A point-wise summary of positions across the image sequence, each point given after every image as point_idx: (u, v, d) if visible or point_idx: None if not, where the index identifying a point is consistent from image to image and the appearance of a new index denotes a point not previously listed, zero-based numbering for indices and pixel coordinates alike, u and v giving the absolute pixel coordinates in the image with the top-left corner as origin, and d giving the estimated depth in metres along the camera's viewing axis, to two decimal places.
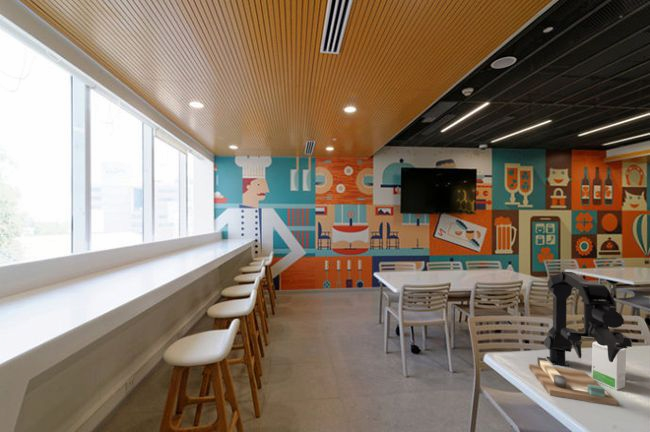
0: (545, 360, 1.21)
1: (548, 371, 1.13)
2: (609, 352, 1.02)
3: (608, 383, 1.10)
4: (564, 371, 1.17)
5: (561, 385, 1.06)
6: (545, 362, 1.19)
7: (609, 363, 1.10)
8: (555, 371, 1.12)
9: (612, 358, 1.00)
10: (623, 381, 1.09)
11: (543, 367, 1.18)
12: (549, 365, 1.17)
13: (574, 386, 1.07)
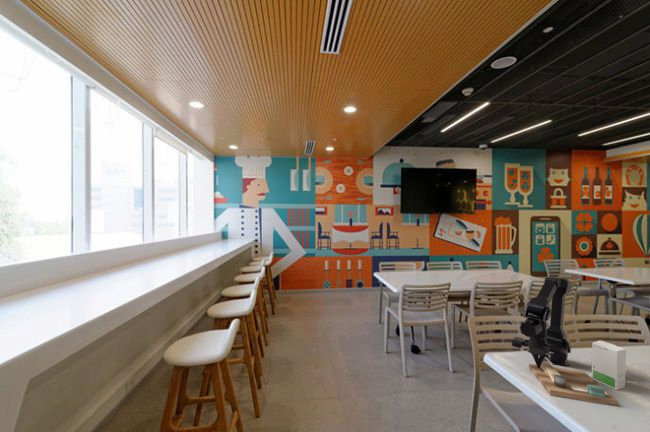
0: (545, 360, 1.21)
1: (549, 371, 1.13)
2: None
3: (608, 383, 1.10)
4: (564, 371, 1.17)
5: (561, 385, 1.06)
6: (546, 362, 1.19)
7: (609, 363, 1.10)
8: (555, 371, 1.12)
9: (539, 364, 1.18)
10: (623, 381, 1.09)
11: (543, 367, 1.18)
12: (549, 365, 1.17)
13: (574, 386, 1.07)
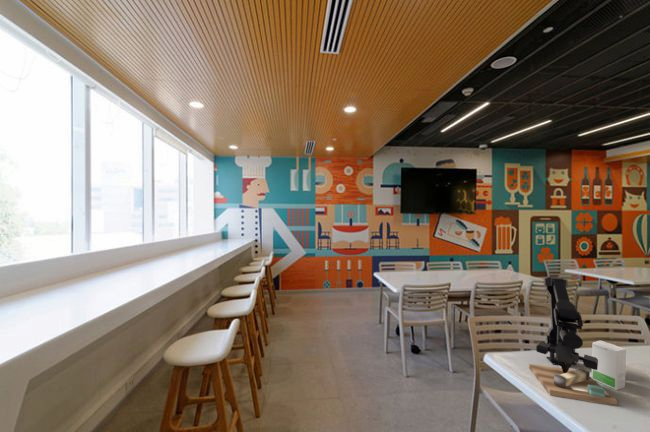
0: (584, 371, 1.12)
1: None
2: None
3: (608, 383, 1.10)
4: None
5: (556, 383, 1.07)
6: (579, 372, 1.11)
7: (609, 363, 1.10)
8: (569, 376, 1.09)
9: (565, 372, 1.12)
10: (623, 381, 1.09)
11: None
12: (576, 373, 1.10)
13: (574, 386, 1.07)
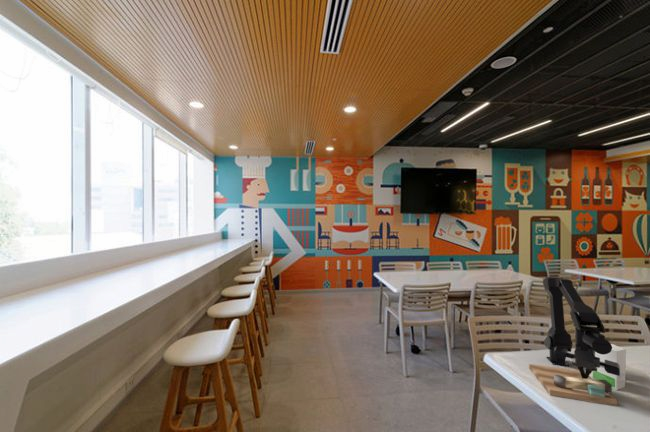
0: (603, 383, 1.04)
1: None
2: None
3: None
4: (564, 371, 1.17)
5: (554, 382, 1.08)
6: (596, 381, 1.05)
7: None
8: (575, 380, 1.06)
9: (585, 378, 1.08)
10: (623, 381, 1.09)
11: None
12: (590, 381, 1.05)
13: None
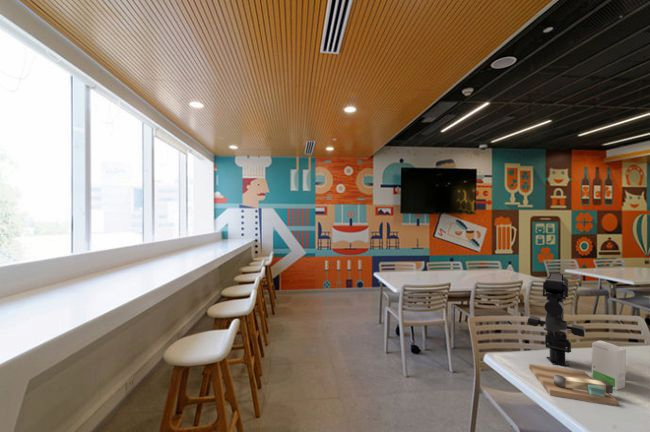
0: (604, 383, 1.03)
1: None
2: (556, 338, 1.19)
3: None
4: (564, 371, 1.17)
5: (554, 382, 1.08)
6: (597, 382, 1.04)
7: (609, 363, 1.10)
8: (575, 380, 1.06)
9: (556, 342, 1.18)
10: (623, 381, 1.09)
11: None
12: (590, 382, 1.05)
13: None
